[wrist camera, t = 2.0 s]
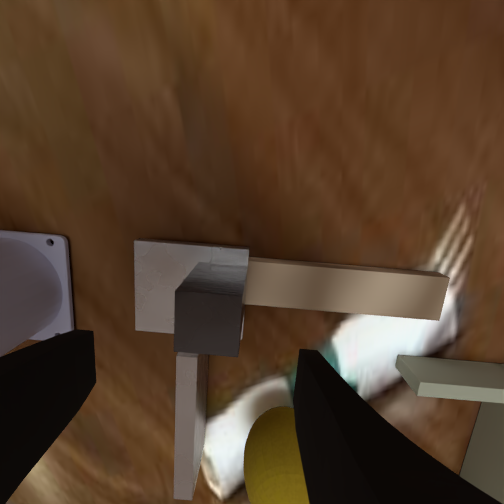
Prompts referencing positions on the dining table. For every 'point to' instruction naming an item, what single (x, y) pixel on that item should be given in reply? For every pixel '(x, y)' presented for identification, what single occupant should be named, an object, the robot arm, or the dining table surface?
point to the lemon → (274, 460)
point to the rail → (345, 288)
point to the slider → (191, 327)
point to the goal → (489, 417)
